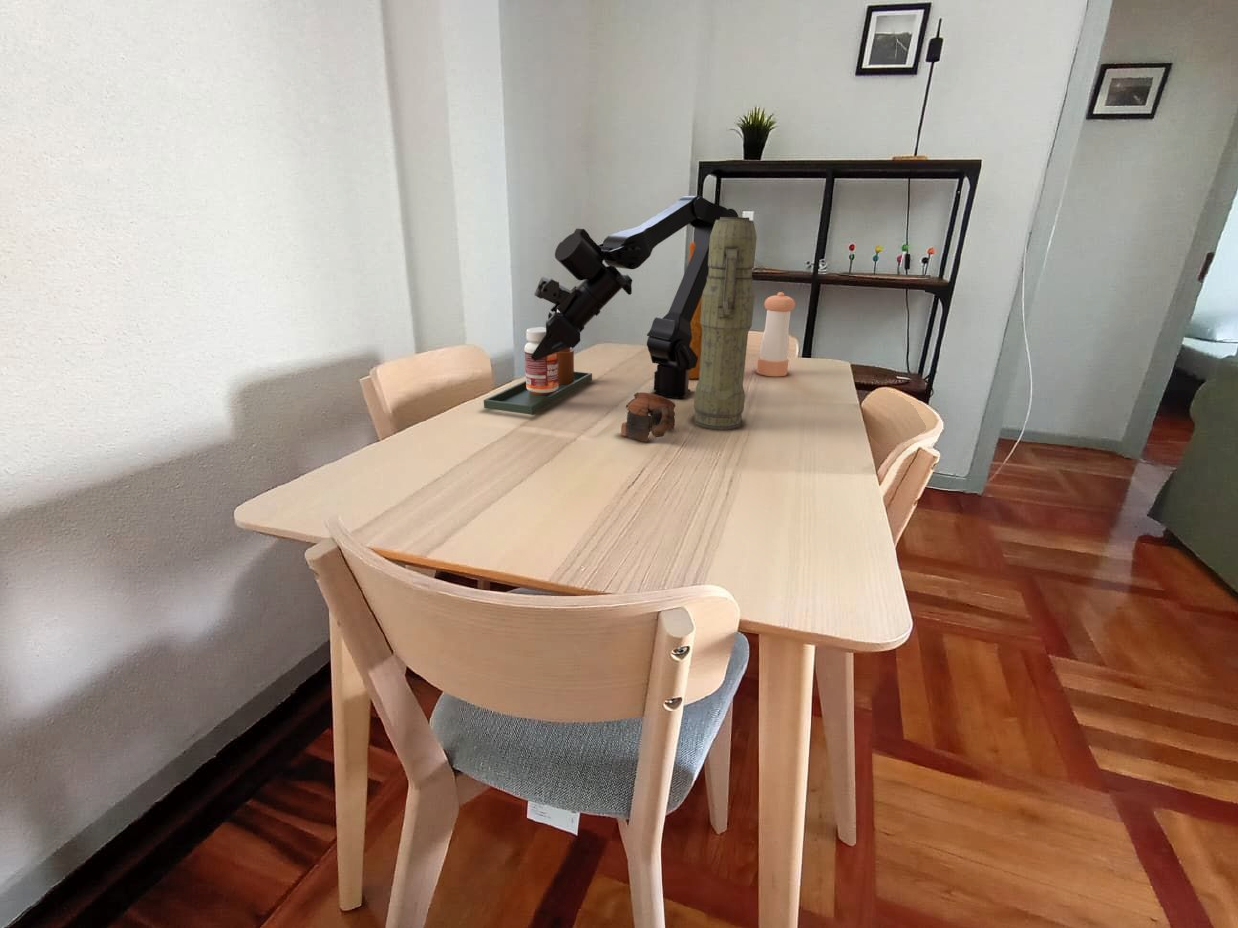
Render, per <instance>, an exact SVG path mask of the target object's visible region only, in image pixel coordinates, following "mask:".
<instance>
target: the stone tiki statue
mask: <svg viewBox="0 0 1238 928" xmlns="http://www.w3.org/2000/svg"><path fill="white" fill-rule="evenodd" d="M754 221H755V220H753V219H752V220H751V219H750V217H739V216H738V217H720V220H716V221H715V224H714V227H713V229H712V232H711V235H710V243H709V257H708V267H709V273H708V276H707V283H706V285H705V288H704V290H703V293H702V305H701V319H700V324H701V327H702V343H701V357H700V371H699V378H698V381H697V384H696V386H695V390H694V399H693V400H694V401H693V408H694V417H693V423H694V424H695V425H697V426H699V427H701V428H704V429H709V430H716V431H727V430H734V429H737V428H740V427H741V425H742V417H743V416H742V415H743V412H744V411H745V410H744V409H745V398H746V393H745V388H744V378H745V368H746V360H747V359H746V358H747V349H748V338H749V332H750V330H751V328H752V325H753V317H754V307H755V297H756V295H755V291H754V286H753V280H754V277H752V276H753V269H754V268H755V261H756V259H755V258H756V249H757V241H758V238H757V231H756V226H755V222H754Z"/></svg>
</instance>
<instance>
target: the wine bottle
mask: <svg viewBox="0 0 1238 928" xmlns="http://www.w3.org/2000/svg"><path fill="white" fill-rule="evenodd" d="M694 250H695V241H692V242H690V244H689V259H688V263H689V262H690V259H691V257H692V255H693V252H694ZM701 305H702V296H701V298H700V301H699V303H698V306H697V308H696V310H695V313H694V315H693V318H692V320H691V332H692V339H691V343H690V347H691V349H692V350H693V351H694V353H695V354H696V355H697V357H698V361H697V364H696V367H695V368H692V369H691V370H689V380H695V379H696V380H697V379H698V380H699V371H700V357H701V343H702V327H701V324H700V319H701Z"/></svg>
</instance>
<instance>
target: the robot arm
mask: <svg viewBox="0 0 1238 928" xmlns="http://www.w3.org/2000/svg"><path fill="white" fill-rule="evenodd" d="M720 217H739V214H738V212H737V211H736V210H735V209H734V208H727V207H725V206H722V205H719V204H718V203H715V202H712V201H709V200H708V199H706V198H705V197H703V196H701V195H684V196H682V197H679V199H678V200H677V201H676V202H674V203H672V204H671V205H669V206H668V207H667V208H665V209H664V210H662V211H661V212H659V213H657V214H655V215H654V216H653V217H651V218H649V219H648V220H646V221H645V222H643V223H642V224H640V225H638V226H635V227H632V228H628V229H627V228H626V229H623V230H620V231H618V232H615V233H612V234H609V235H608V236H606V237H605V238H604V240H603V242H601V243H598V244H597V242H596V241H595V240H594V239H593V238H592V237H591V236H590V234H589V232H588V231H587V230H585V228H579V227H577V228H576V229H575V230H574V231H573V233H571V234H569V235H568V236H566V237H565V238H564V239H563V240H562V241H560V242H559V243H558V245H557V246H556V248H555V251H554V258H555V260H556V261H558V263H559V264H560V265H562V267H564V268H565V269H566V270H567V271H568V272H569V273H570V275H572V276H573V277H574V278H575V279H576V280H578V281H582V282H581V283H580V284H579V285H577V286H576V285H575V286H573V287H572V289H569V288H567V287H565V286H563V285H561V284H560V281H557V280H554V278H550V279H549V278H547V277H545V276H541V278H540V280H539V282H538V284H537V286H536V289H535V292H534V297H536V298H539V299H541V300H542V299H543V300H545V301H548V302H549V303H551V304H553V305H552V306H551V308H550V311H551V312H552V313H551V312H550V311H549V312H548V314H547V320H546V321H545V328H546V334H545V336H544V337H543V339H542V340H541V342H540V343H539V345H538V346H537V348H536V349H535V351H534V352H533V354H532V355H531V358H532V359H533V360H534V361H536V360H539V359H541V358H544V357H546V356H549V355H551V354H554V353H556V352H559V351H561V350H564V349H567V348H570V349H574V348H575V347H576V346H577V345H578V344H579V343H580V342H581V333H582V332H583V330H584V329H585V326H586V325H588V324H589V322H590V321H591V320H593V318H594V317H595V316H596V317H597V316H598V315H599V314H600V313H601V310H602V309H603V308H604V307H605V306H606V305H607V304H608V303H609V302H610V301H611V300H612V299H613V298H614V297H615V296H616V295H617V294H618V293H619V292H620V291H621V290H623V291H624V292H625V294H627V295H628V296H630V295H632V293H633V291H632V289H633V288H632V283H633V278H631V276H630V275H629V274H622V273H621V272H620V271H619V270H618V269H624V270H625V269H626V270H636V269H638V268H640V267H641V266H642V265H643V264H644V263H645V262H646V261H647V260H648V259H649V258H650V257H651V255H652V253H653V250H654V249H655V247H657V246H658V245H660V244H661V243H662V242H664V241H665V240H667V239H668V238H670V237H671V236H673V235H674V234H676V233H677V232H679V231H681V229H683V228H685V227H686V226H688V225H689V226H691V227H692V228H694V232H693V238H694V242H695V250H694V252H693V255H692V257H691V259H690V262H689V261H688V265H687V267H686V269H685V271H684V274H683V275H682V279H681V282H680V284H679V285H678V288H677V291H676V294H675V295H674V298H673V300H672V302H671V306H670V308H669V310H668V312H667V313H666V315H664V316H663V317H654V319H653V320H652V323H651V327H650V330H649V331H648V333H646V336H647V337H648V338H647V340H646V347H647V350H648V352H649V355H650V359H651V363H652V364H657V365H656V370H655V371H654V373H653V375H654V376H653V391H654V392H653V393H652V394H655V395H658V396H661V397H664V398H671V399H681V400H683V399H684V398H685V397H687V396H688V395H689V394H690V393H691V389H689V385H690V384H689V383H690V379H689V370H691V369H692V368H695V367H696V364H697V361H698V357H697V355H696V354H695V353H694V351H693V350H692V349H691V347H690V343H691V339H692V332H691V320H692V318H693V315H694V313H695V310H696V308H697V306H698V303H699V301H700V298H701V296H702V293H703V290H704V288H705V285H706V283H707V276H708V273H709V267H708V257H709V243H710V235H711V232H712V229H713V227H714V224H715V221H716V220H720ZM603 262H604V263H605V264H604V263H603ZM617 268H618V269H617Z"/></svg>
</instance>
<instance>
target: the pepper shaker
mask: <svg viewBox="0 0 1238 928" xmlns="http://www.w3.org/2000/svg"><path fill="white" fill-rule="evenodd" d="M763 304H764V308H765V310H766V316H765V324H764V325H765V326H764V330H763V333H762V337H761V342H760V349H759V356H758V358H757V362H756V363H757V364H756V374H758V375H761V376H766V377H784V376H787V374H788V368H789V359H788V356H789V349H790V322H791V312H792V311H794V309H795V307H796V302H795V299H794V298H792V297H791V296H788V295H785V293H784V292H783V291H779V292H778V293H776V295H771V296H768V297H767V298H766V299H765V300H764V303H763Z"/></svg>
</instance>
